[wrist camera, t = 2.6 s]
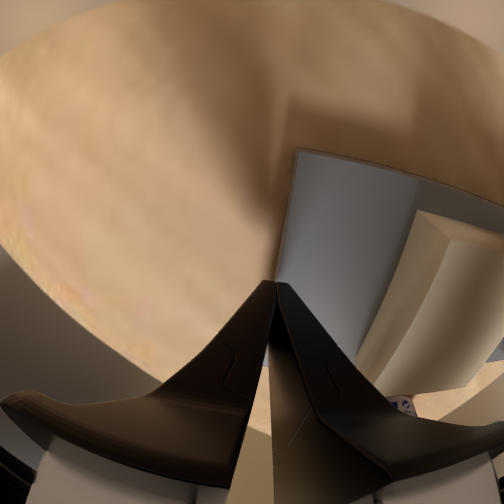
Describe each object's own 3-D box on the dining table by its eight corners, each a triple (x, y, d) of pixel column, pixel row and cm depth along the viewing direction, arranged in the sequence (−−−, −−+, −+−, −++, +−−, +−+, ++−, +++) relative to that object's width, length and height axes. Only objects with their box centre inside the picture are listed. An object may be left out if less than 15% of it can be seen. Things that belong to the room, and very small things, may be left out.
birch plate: (514, 238, 8) (543, 264, 6) (450, 356, 11) (465, 386, 9) (416, 209, 8) (450, 239, 6) (354, 358, 11) (363, 397, 9)
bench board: (561, 236, 8) (599, 269, 5) (501, 349, 13) (524, 389, 9) (296, 147, 8) (314, 175, 5) (259, 349, 13) (254, 423, 9)
